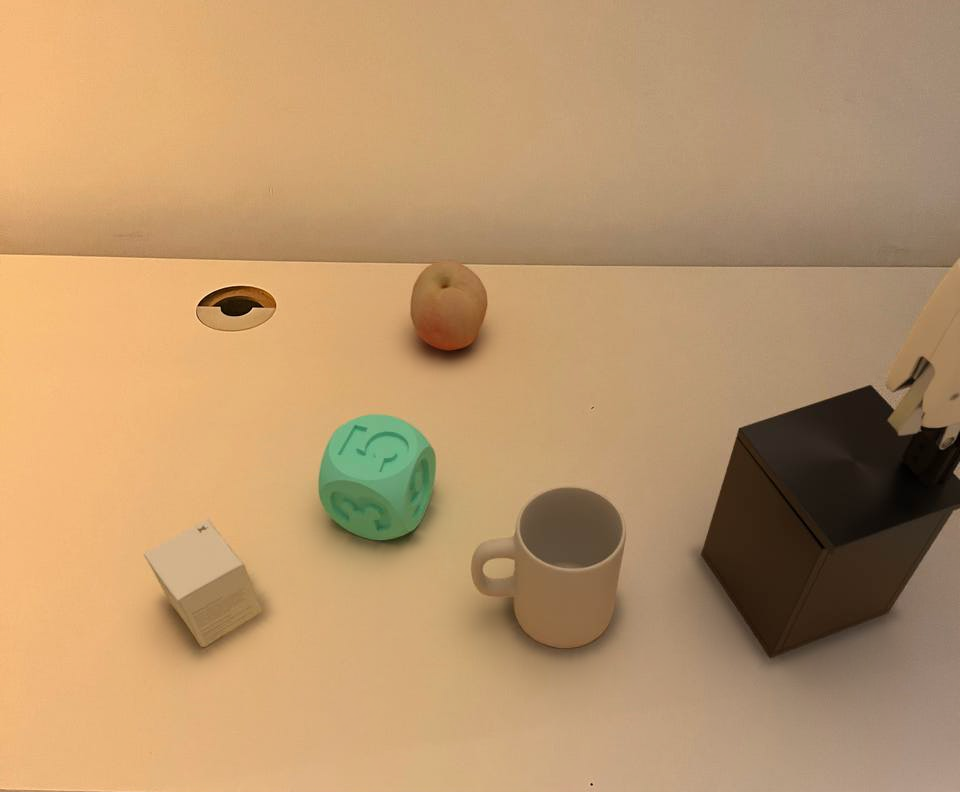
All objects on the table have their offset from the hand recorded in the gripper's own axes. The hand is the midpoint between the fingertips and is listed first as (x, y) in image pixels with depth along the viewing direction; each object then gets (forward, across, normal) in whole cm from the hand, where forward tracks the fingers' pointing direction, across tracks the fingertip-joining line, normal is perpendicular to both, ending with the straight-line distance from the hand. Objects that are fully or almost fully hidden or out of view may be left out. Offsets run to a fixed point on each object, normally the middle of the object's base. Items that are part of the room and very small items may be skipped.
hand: (924, 470), depth 67 cm
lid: (+1, +4, -3) cm, 5 cm away
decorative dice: (+16, +34, -25) cm, 45 cm away
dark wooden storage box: (+16, +4, -3) cm, 17 cm away
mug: (+16, +25, -9) cm, 31 cm away
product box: (+16, +51, -20) cm, 57 cm away
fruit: (+16, +20, -44) cm, 51 cm away
